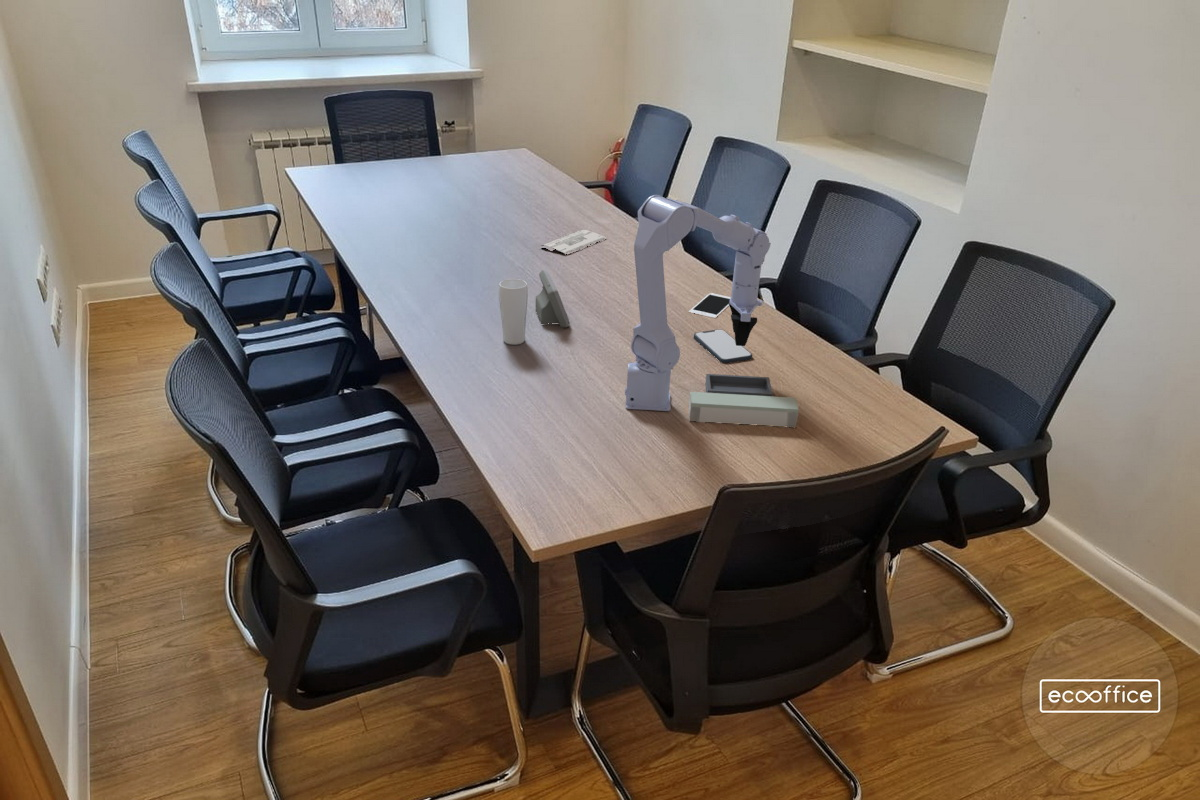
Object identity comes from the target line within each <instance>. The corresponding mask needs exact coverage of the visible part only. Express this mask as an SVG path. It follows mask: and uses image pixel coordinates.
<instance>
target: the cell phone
mask: <svg viewBox="0 0 1200 800" xmlns="http://www.w3.org/2000/svg"><path fill="white" fill-rule="evenodd" d="M730 298H731V296H726V295H723V294H717V293H712V292H710V293H708V294H707V295H706V296H704V297H703V298H702V299H701V300H700V301H698V303H696V304H695V305H694V306H693V307H692V308H691V309H689V310H688V313H689V312H691V313H690V314H693V313H695V314H694V315H697V314H699V316H702V315H703V316H702V317H706V316H707V318H710V317H711V319H716V318H718V317H719V316H720V315H721V314H722V313H723V312H724V311H725V310H726V309H728V307H730V306H729V303H728V301H730ZM717 316H718V317H717Z"/></svg>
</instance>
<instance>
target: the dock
mask: <svg viewBox="0 0 1200 800" xmlns="http://www.w3.org/2000/svg"><path fill="white" fill-rule="evenodd" d="M799 411H800V409H799V406H798V402H797V398H796V397H787V396H756V395H738V394H721V393H706V392H702V391H689V401H688V416H689V417H688V418H690V420H689V422H690V421H696V422H695V423H705V422H721V423H720V424H722V423H740V424H757V425H773V426H787V427H786V428H789V427H797V423H798V418H799V417H798V416H799Z"/></svg>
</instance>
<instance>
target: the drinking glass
mask: <svg viewBox="0 0 1200 800" xmlns="http://www.w3.org/2000/svg"><path fill="white" fill-rule="evenodd" d="M528 293H529V291H528V282H526V280H523V279H519V278H508V279H503V280H501V281H500V282H499V285H498V296H499V297H498V301H499V309H500V319H501V325H502V339H503V342H504V343H505V344H507V345H512V346H517V345H521V344H523V343H524V342H525V340H526V326H527V325H526V323H527V314H528V313H527V312H528V302H529V301H528V297H529V294H528Z"/></svg>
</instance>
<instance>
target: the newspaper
mask: <svg viewBox="0 0 1200 800" xmlns="http://www.w3.org/2000/svg"><path fill="white" fill-rule="evenodd" d="M576 231H577V232H575V233H572V232H571V233H572V234H570V233H568V234H569V235H567V234H566V235H567V236H565V235H563V236H564V237H563V236H561V237H559V239H558V238H556V239H554V240H552V241H550V242H547V243H544V244H542V245H540V246H544V245H545V246H548V247H551V248H553V249H556V250H555V251H558V252H561V253H563V254H564V255H566V253H568V252H572V251H575V250H578V249H580V248H583V247H585V246H588V245H590V244H594V243H596V242H599V241H602V240H604V239H606V240H608V238H607V237H606V236H605V235H601V234H599V233H597V232H595V231H594V232H593V231H590V230H586V229H581V230H576ZM604 241H605V240H604ZM602 242H603V241H602ZM599 243H600V242H599ZM594 245H595V244H594Z"/></svg>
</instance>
